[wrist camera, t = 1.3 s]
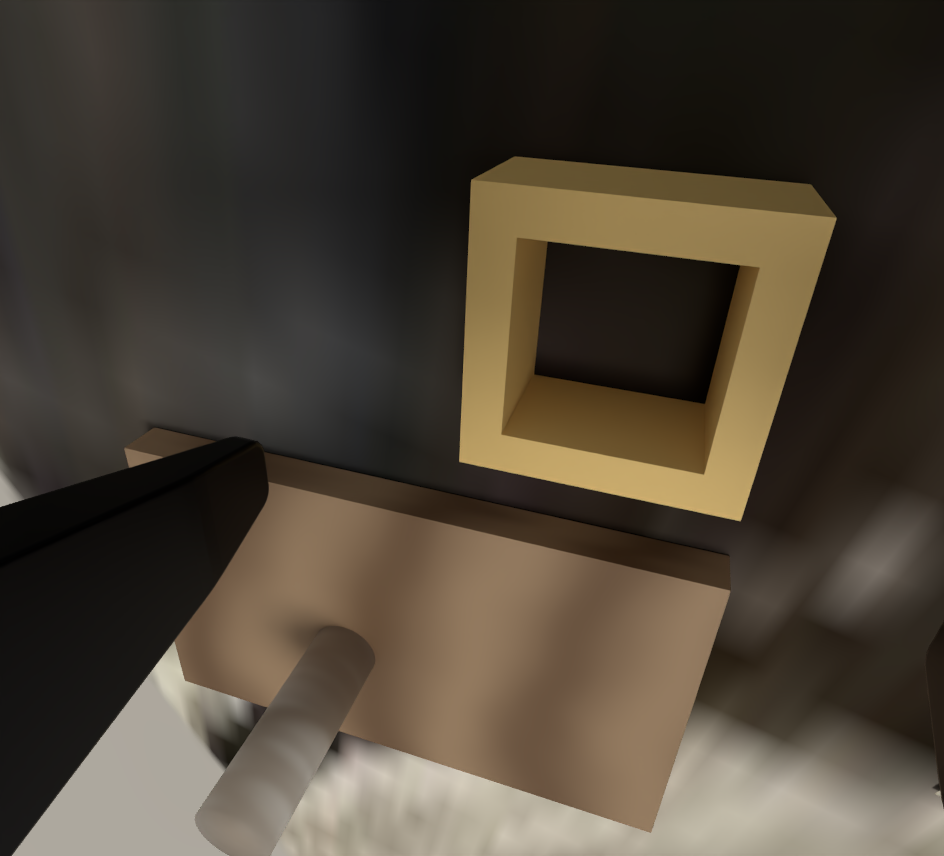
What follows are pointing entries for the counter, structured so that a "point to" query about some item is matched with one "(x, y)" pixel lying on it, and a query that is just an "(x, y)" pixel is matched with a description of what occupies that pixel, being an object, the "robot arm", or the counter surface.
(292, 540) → the board
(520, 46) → the counter surface
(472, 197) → the open wall cube
